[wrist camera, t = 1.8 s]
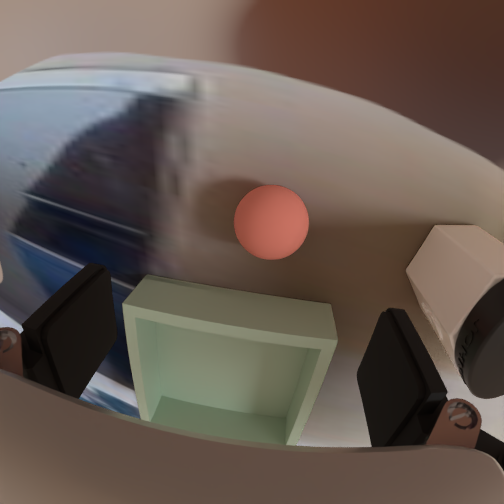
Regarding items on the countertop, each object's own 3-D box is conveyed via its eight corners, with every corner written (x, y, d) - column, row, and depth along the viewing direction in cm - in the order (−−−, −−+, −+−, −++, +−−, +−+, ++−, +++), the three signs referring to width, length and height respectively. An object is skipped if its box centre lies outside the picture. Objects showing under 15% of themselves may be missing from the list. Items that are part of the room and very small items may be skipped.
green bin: (330, 303, 26) (338, 340, 21) (293, 418, 32) (292, 453, 27) (146, 274, 27) (122, 303, 22) (156, 394, 33) (142, 425, 28)
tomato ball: (311, 185, 22) (318, 200, 18) (300, 248, 24) (303, 278, 20) (243, 174, 23) (232, 187, 18) (236, 238, 24) (224, 265, 20)
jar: (392, 249, 23) (457, 341, 12) (469, 201, 21) (565, 259, 10) (424, 324, 26) (473, 420, 15) (491, 282, 23) (559, 357, 12)
